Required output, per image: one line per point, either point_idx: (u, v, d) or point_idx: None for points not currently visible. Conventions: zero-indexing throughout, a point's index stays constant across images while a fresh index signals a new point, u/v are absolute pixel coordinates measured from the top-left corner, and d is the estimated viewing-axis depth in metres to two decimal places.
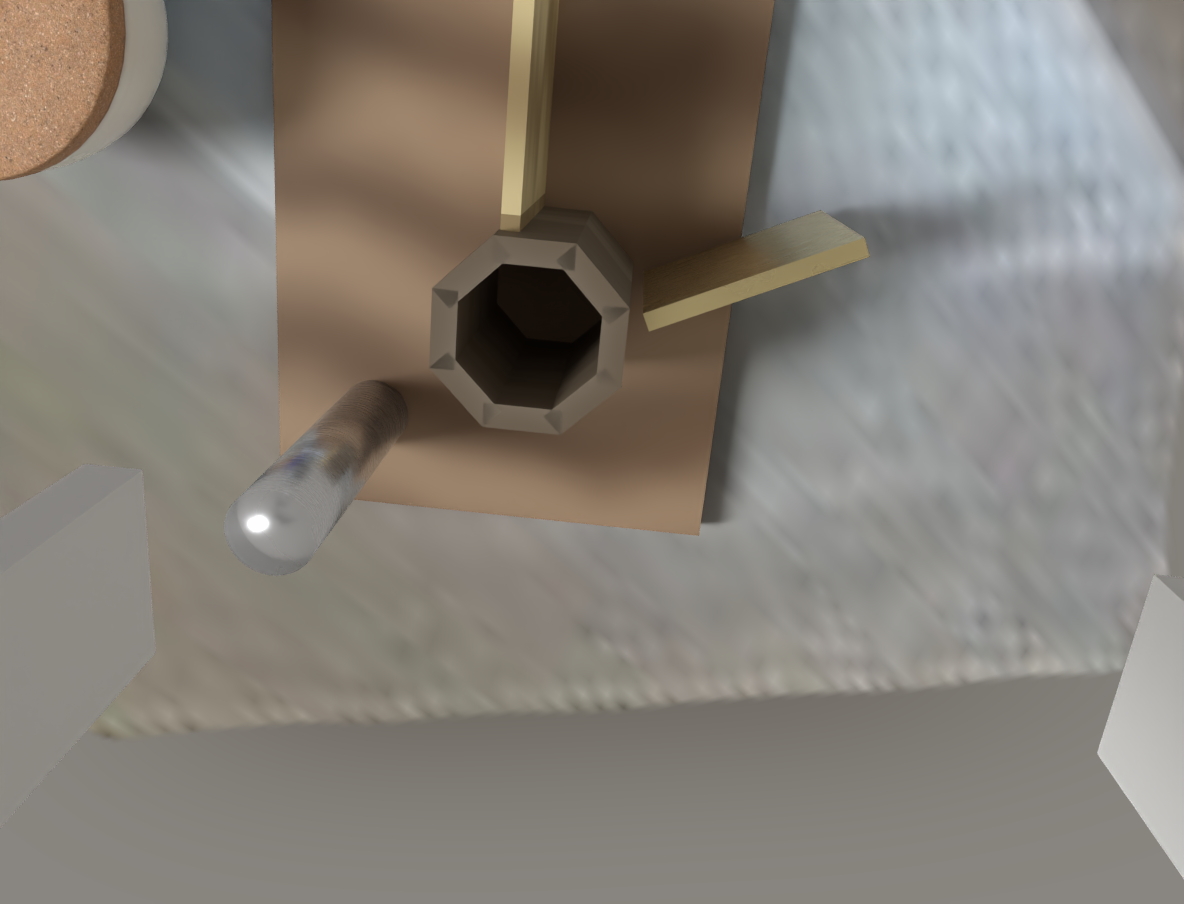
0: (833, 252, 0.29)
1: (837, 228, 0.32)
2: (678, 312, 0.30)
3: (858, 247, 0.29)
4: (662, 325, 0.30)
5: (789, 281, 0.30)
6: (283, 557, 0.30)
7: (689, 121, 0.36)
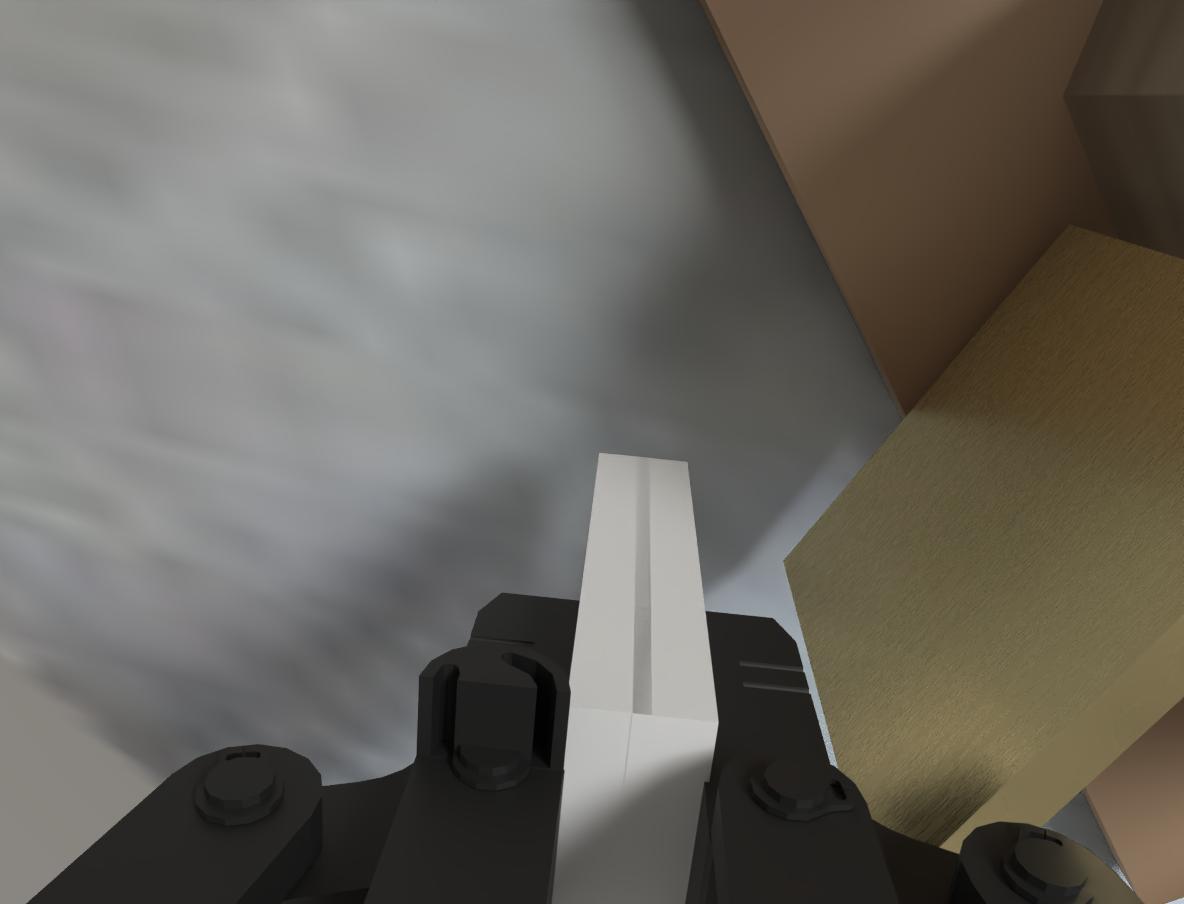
0: None
1: None
2: None
3: None
4: None
5: (1057, 747, 0.09)
6: None
7: None
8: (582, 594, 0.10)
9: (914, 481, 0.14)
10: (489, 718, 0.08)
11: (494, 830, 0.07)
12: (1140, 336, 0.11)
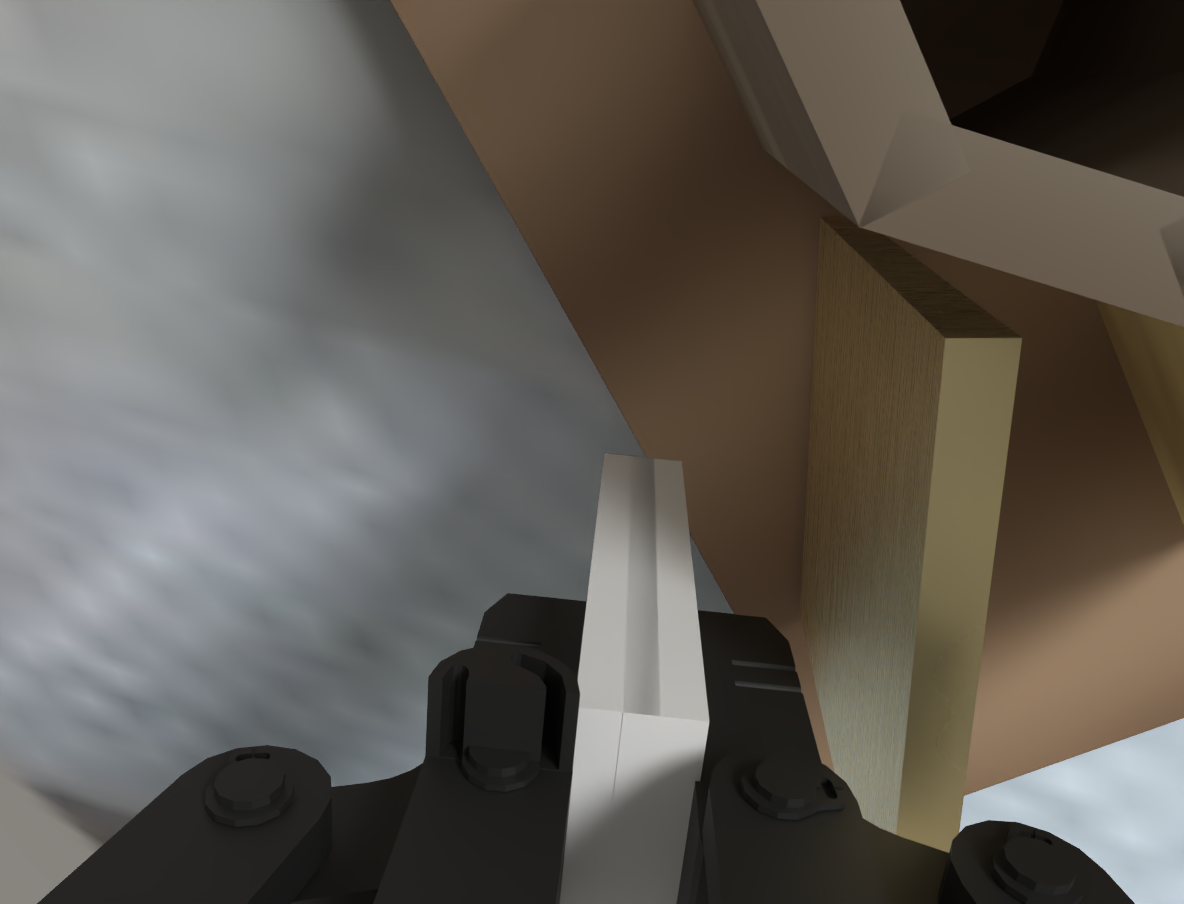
0: None
1: None
2: (965, 460, 0.08)
3: None
4: (944, 391, 0.08)
5: (908, 795, 0.09)
6: None
7: None
8: (589, 594, 0.10)
9: (821, 517, 0.15)
10: (498, 719, 0.08)
11: (503, 831, 0.07)
12: (858, 341, 0.12)
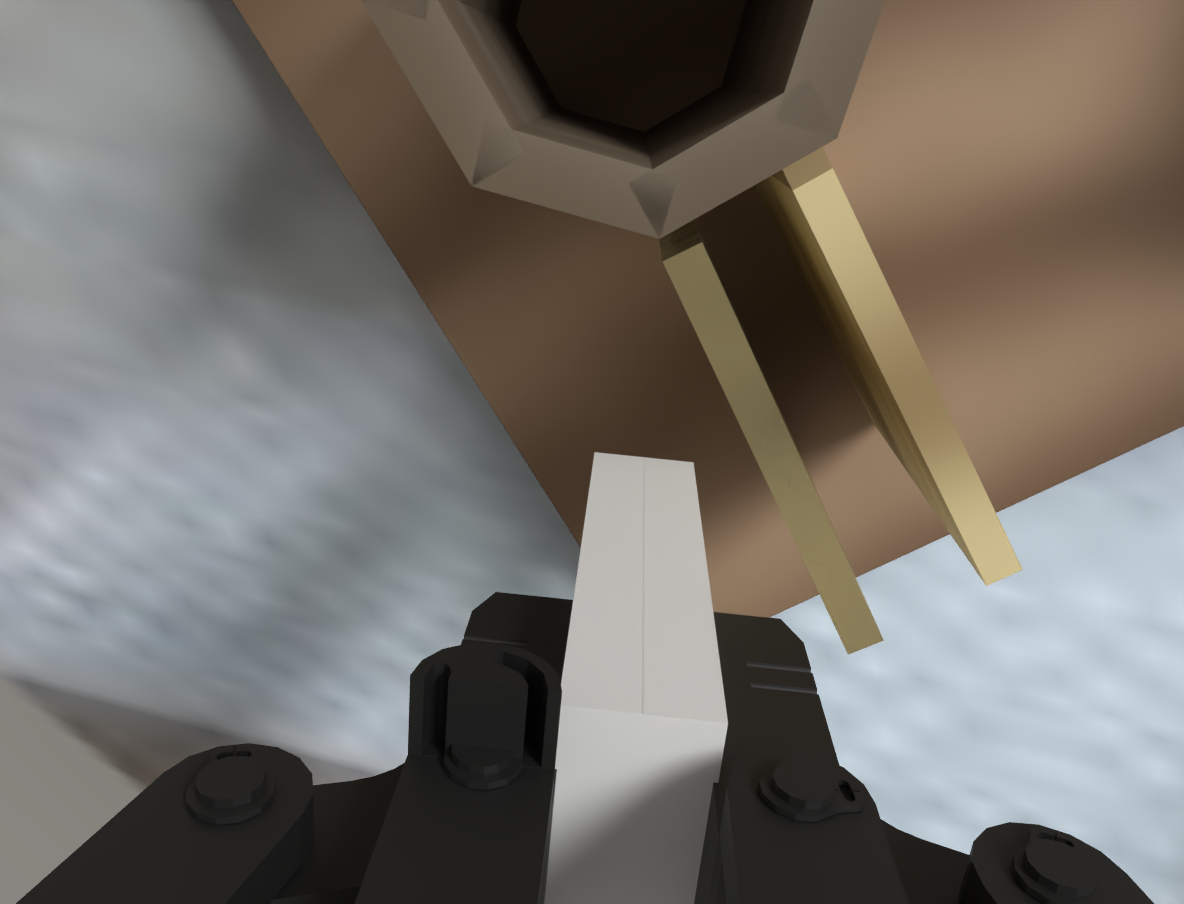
0: (852, 593, 0.15)
1: None
2: (711, 320, 0.14)
3: (864, 633, 0.16)
4: (678, 289, 0.14)
5: (793, 527, 0.15)
6: None
7: (598, 384, 0.23)
8: (575, 593, 0.10)
9: None
10: (481, 717, 0.08)
11: (486, 829, 0.07)
12: None
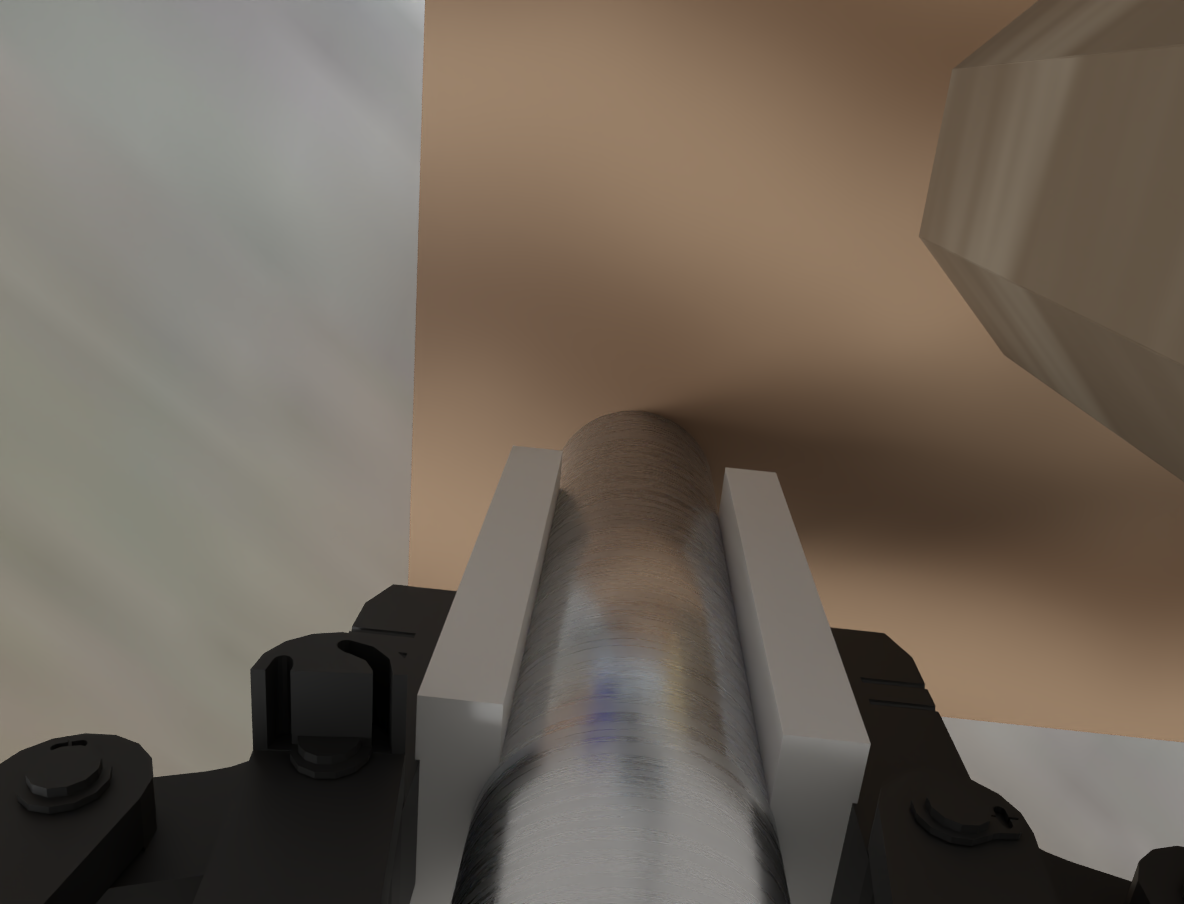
0: None
1: None
2: None
3: None
4: None
5: None
6: None
7: None
8: (460, 585, 0.10)
9: None
10: (326, 707, 0.08)
11: (332, 818, 0.07)
12: None
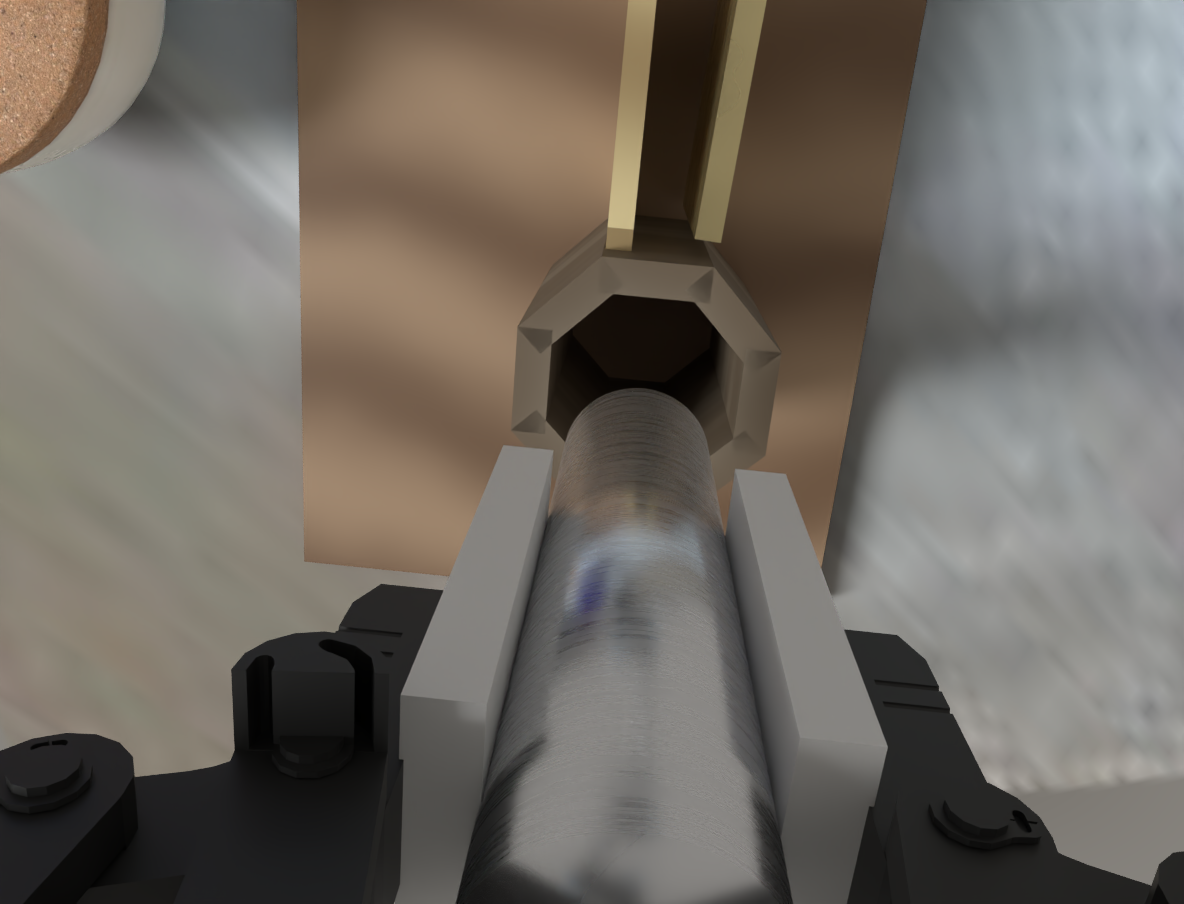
0: None
1: None
2: (718, 193, 0.22)
3: None
4: (722, 222, 0.22)
5: (758, 27, 0.21)
6: None
7: (820, 107, 0.29)
8: (447, 584, 0.10)
9: None
10: (308, 707, 0.08)
11: (314, 817, 0.07)
12: None
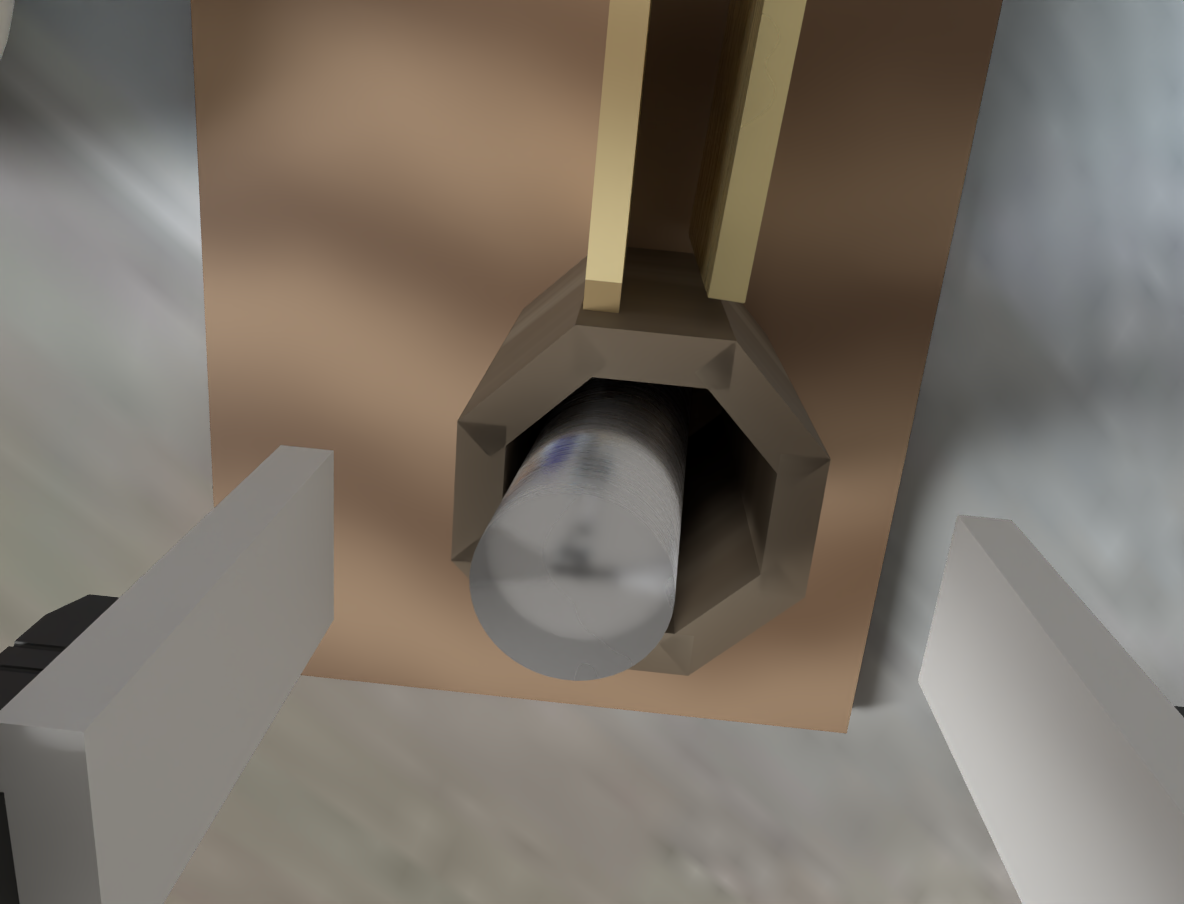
0: None
1: None
2: (741, 234, 0.15)
3: None
4: (748, 274, 0.16)
5: None
6: (594, 644, 0.13)
7: (867, 110, 0.22)
8: (121, 596, 0.10)
9: None
10: None
11: None
12: None
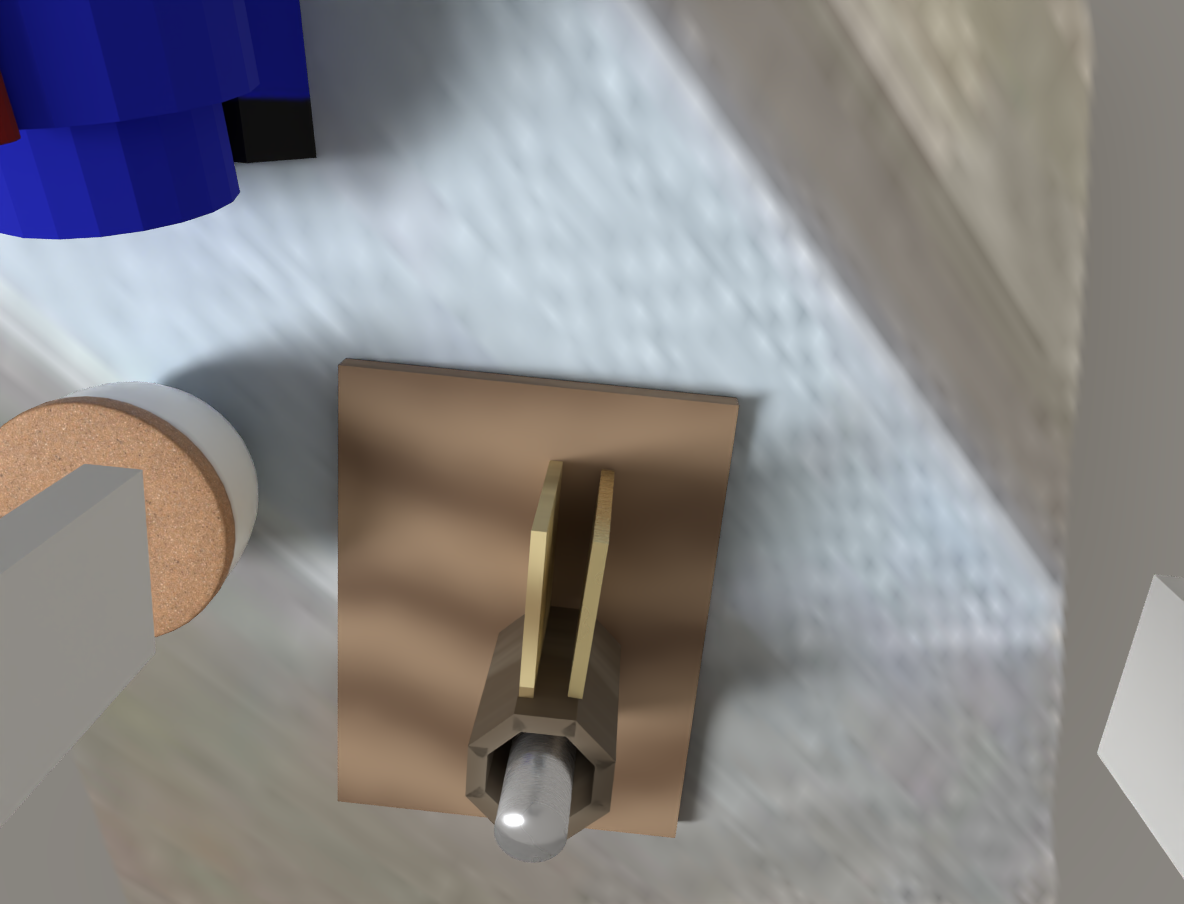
0: (592, 565, 0.38)
1: (595, 516, 0.40)
2: (579, 675, 0.39)
3: (597, 548, 0.37)
4: (583, 689, 0.39)
5: (597, 600, 0.38)
6: (539, 850, 0.37)
7: (664, 550, 0.46)
8: None
9: None
10: None
11: None
12: None
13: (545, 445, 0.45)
